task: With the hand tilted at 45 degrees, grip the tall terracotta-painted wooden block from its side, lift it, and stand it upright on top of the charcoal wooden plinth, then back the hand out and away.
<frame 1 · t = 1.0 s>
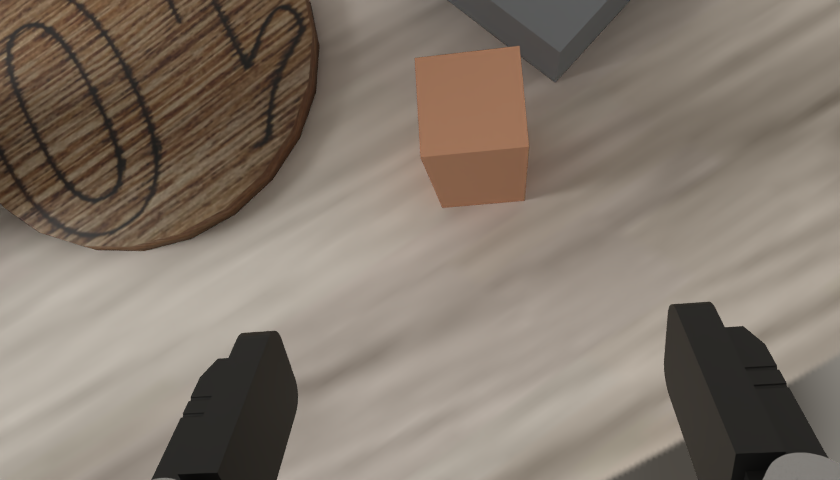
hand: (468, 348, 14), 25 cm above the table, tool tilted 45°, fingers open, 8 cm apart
terracotta block: (480, 165, 40), on the table
trivet: (147, 76, 45), on the table
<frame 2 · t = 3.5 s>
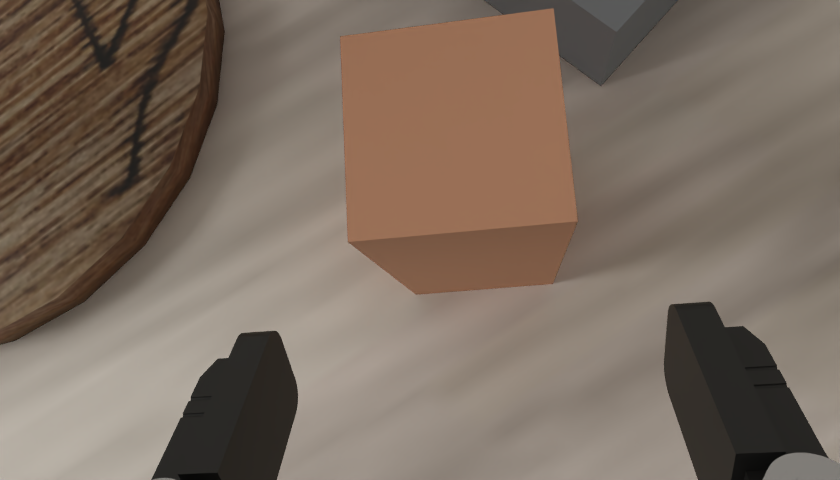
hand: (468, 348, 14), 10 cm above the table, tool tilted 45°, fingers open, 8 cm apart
terracotta block: (478, 222, 24), on the table
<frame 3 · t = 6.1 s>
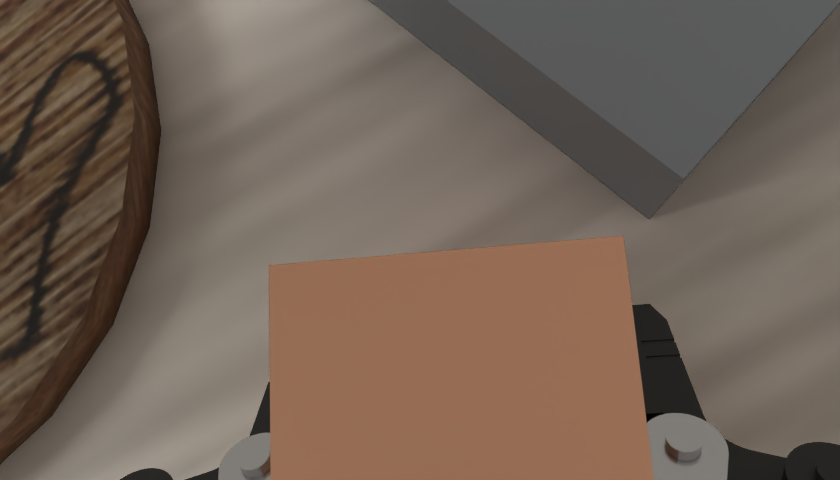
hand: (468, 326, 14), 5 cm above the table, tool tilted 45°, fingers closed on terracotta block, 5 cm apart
terracotta block: (486, 403, 18), on the table, touching gripper
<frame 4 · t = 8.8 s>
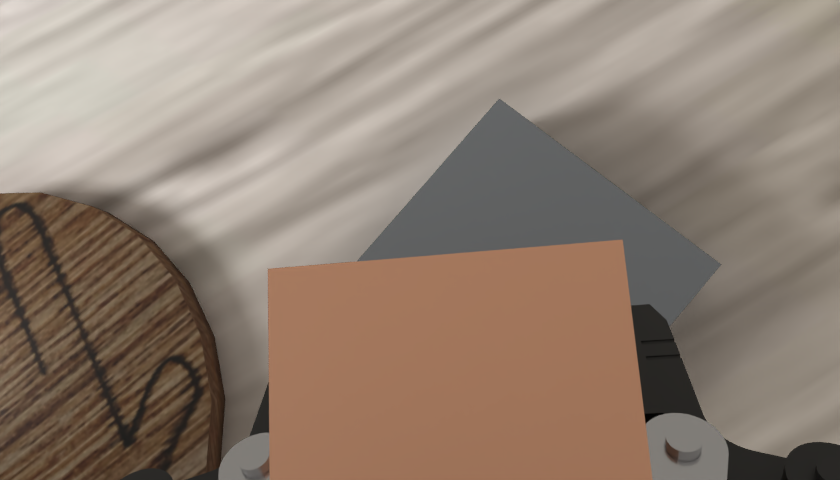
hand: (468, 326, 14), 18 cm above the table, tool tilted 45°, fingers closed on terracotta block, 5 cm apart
terracotta block: (486, 405, 18), point 13 cm above the table, touching gripper
trivet: (11, 424, 35), on the table
charcoal plinth: (516, 291, 32), on the table
when the fingers open (10 cm above the table, at t = 11.5 s): terracotta block drops 1 cm, resting on charcoal plinth.
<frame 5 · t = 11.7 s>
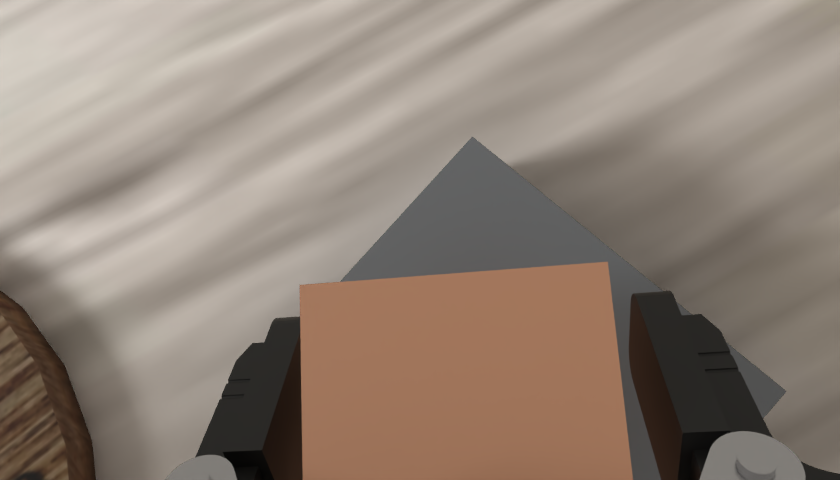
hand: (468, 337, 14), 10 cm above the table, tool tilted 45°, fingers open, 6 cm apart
terracotta block: (488, 404, 20), point 4 cm above the table, touching charcoal plinth
charcoal plinth: (492, 396, 24), on the table
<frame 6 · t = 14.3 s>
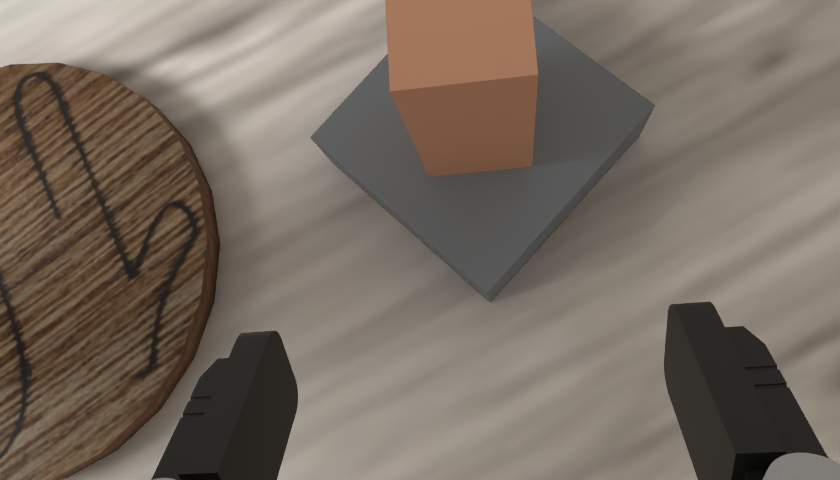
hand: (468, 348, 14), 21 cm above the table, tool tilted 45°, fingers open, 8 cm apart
terracotta block: (476, 123, 32), point 4 cm above the table, touching charcoal plinth
trivet: (27, 270, 39), on the table
charcoal plinth: (480, 148, 36), on the table
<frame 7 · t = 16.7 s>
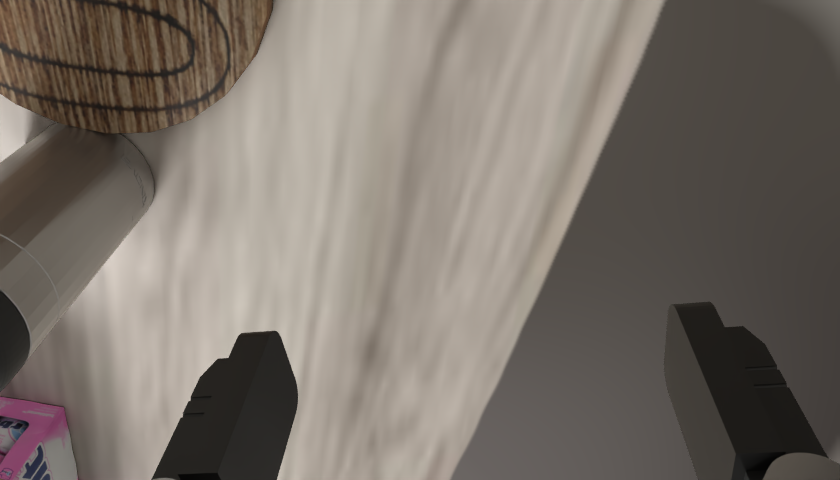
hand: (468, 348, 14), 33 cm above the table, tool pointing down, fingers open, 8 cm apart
gum box: (45, 466, 72), on the table
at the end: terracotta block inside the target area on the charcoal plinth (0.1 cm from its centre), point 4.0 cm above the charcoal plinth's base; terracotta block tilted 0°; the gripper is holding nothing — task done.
